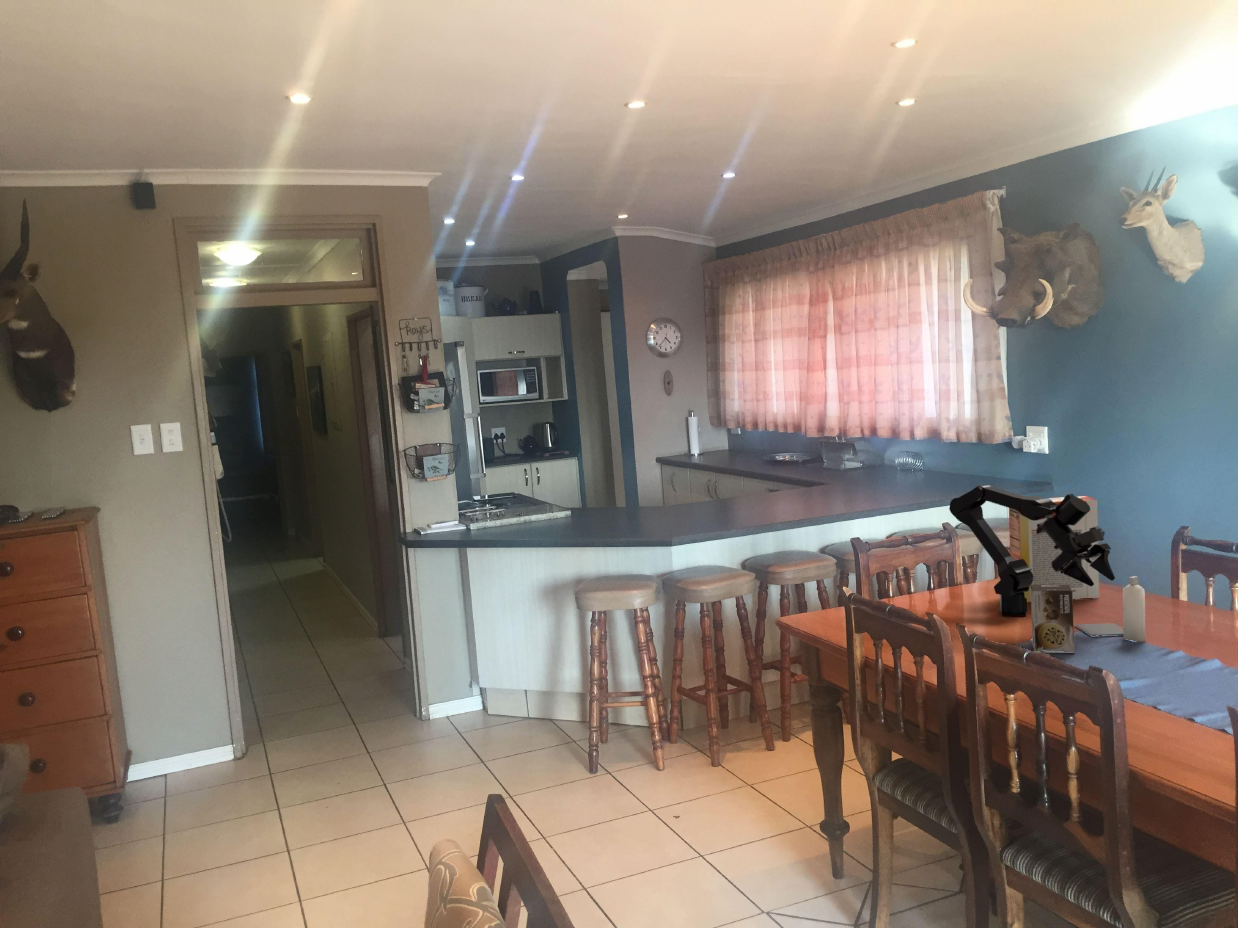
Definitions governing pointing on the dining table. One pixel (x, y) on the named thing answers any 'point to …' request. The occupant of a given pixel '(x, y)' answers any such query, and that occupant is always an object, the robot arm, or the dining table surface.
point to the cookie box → (1052, 618)
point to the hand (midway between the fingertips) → (1103, 582)
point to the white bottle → (1134, 611)
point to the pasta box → (1051, 551)
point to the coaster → (1101, 629)
